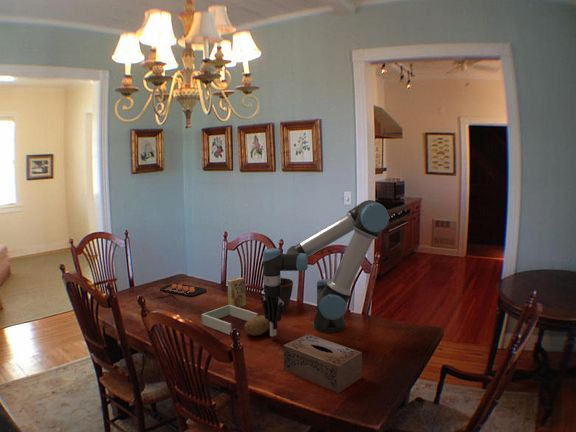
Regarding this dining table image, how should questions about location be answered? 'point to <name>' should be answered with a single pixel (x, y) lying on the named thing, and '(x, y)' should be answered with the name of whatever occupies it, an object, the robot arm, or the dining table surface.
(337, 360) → the tissue box cover
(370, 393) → the dining table surface
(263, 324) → the potato
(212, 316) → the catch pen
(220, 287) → the dining table surface
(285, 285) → the plant pot
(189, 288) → the sushi plate
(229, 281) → the candy box
